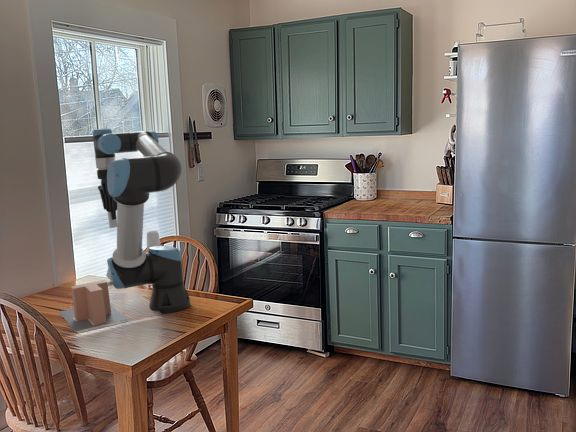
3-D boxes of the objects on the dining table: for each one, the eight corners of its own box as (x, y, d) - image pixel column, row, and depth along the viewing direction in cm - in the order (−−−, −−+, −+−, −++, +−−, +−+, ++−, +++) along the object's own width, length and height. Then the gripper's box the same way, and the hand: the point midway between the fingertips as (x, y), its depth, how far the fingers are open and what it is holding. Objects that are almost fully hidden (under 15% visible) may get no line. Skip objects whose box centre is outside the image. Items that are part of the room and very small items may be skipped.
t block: (75, 318, 210) (70, 286, 208) (108, 311, 216) (104, 280, 214) (83, 327, 199) (78, 294, 197) (118, 319, 205) (114, 287, 203)
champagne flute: (166, 286, 248) (160, 232, 244) (150, 289, 246) (144, 233, 243) (165, 283, 255) (159, 229, 251) (149, 285, 253) (143, 231, 249)
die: (124, 278, 270) (109, 264, 268) (133, 271, 265) (118, 256, 263) (114, 289, 264) (98, 274, 262) (123, 282, 258) (108, 266, 257)
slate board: (59, 314, 220) (58, 311, 219) (106, 304, 229) (106, 301, 229) (75, 334, 196) (74, 331, 196) (127, 321, 205) (127, 319, 205)
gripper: (123, 167, 225) (130, 226, 229) (106, 167, 234) (113, 224, 238) (106, 169, 220) (113, 230, 224) (89, 169, 229) (96, 227, 233)
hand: (113, 227), depth 231 cm, fingers closed
